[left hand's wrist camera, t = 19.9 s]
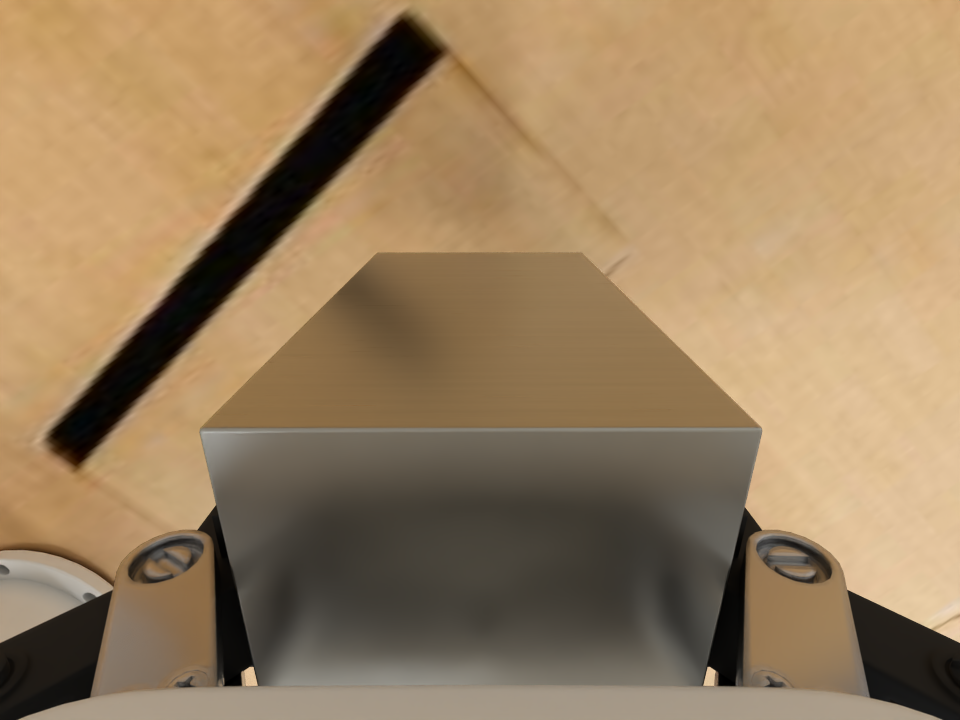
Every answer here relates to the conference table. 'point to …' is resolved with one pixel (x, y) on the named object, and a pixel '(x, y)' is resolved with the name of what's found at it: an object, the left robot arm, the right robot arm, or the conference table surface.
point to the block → (480, 484)
